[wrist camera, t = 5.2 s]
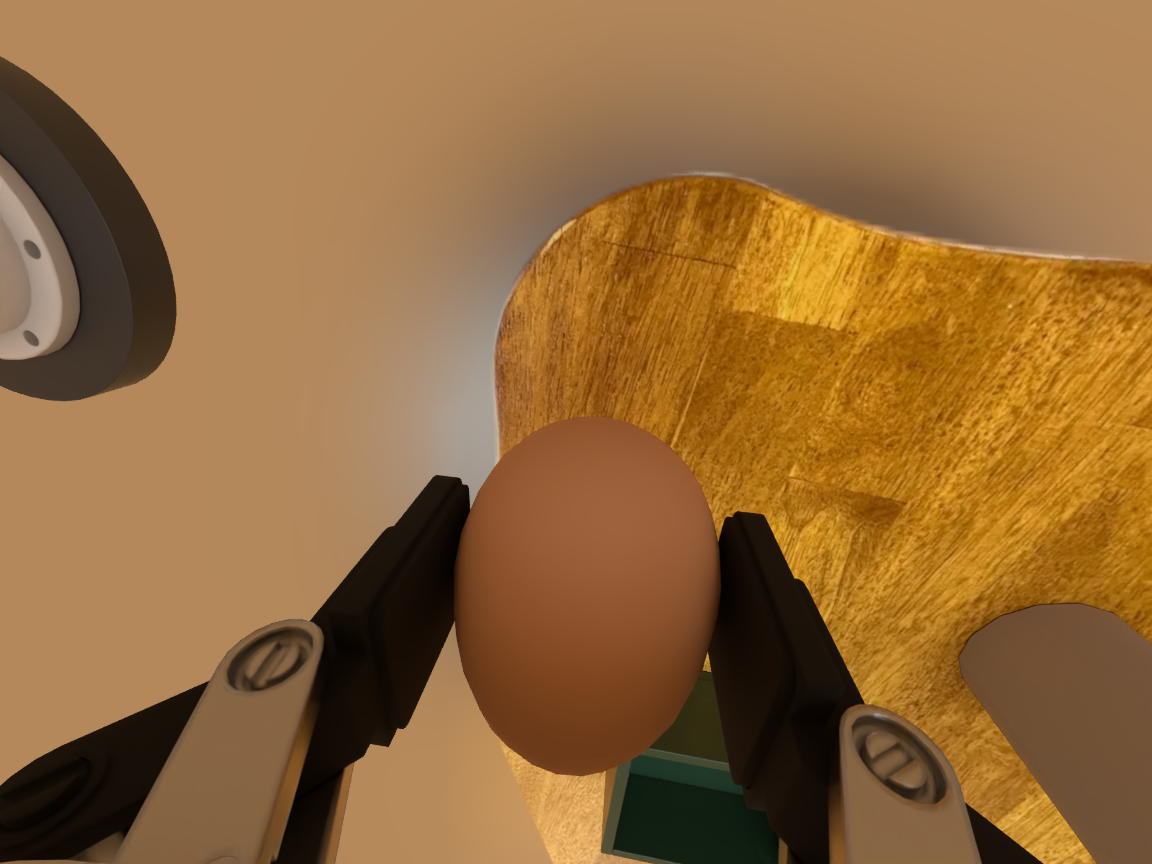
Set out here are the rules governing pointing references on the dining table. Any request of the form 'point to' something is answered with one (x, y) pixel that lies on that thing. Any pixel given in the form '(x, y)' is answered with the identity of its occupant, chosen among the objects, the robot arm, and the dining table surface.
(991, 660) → the cup
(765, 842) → the dark green open crate
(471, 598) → the egg
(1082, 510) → the dining table surface
